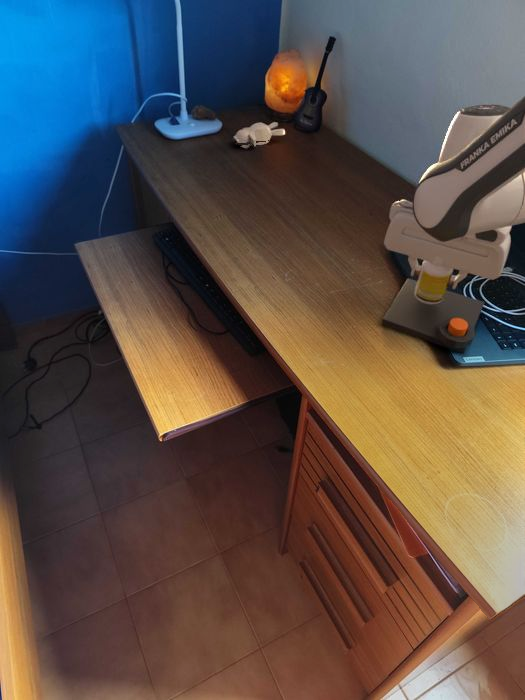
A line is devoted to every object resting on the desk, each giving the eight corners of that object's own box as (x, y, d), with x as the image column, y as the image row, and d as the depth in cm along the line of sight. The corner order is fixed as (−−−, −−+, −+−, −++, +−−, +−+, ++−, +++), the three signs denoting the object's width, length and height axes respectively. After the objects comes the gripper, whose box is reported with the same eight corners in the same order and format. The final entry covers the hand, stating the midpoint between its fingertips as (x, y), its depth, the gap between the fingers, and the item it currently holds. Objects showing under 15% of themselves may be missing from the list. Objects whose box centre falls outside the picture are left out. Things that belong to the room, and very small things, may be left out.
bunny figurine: (229, 127, 142) (274, 114, 144) (232, 144, 146) (275, 130, 148) (239, 139, 136) (286, 124, 138) (242, 156, 140) (287, 141, 142)
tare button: (467, 328, 81) (470, 321, 80) (462, 339, 80) (465, 332, 78) (450, 323, 83) (452, 315, 81) (445, 333, 81) (447, 325, 80)
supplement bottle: (446, 305, 86) (462, 261, 79) (417, 305, 86) (429, 261, 79) (439, 287, 89) (453, 243, 82) (411, 287, 90) (422, 243, 83)
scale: (484, 308, 89) (490, 296, 87) (464, 358, 80) (469, 346, 78) (406, 283, 95) (409, 271, 92) (379, 327, 86) (382, 315, 84)
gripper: (386, 205, 77) (373, 273, 87) (516, 238, 70) (486, 308, 79) (399, 189, 81) (385, 256, 91) (524, 219, 73) (494, 288, 83)
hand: (433, 280), depth 85 cm, fingers closed on supplement bottle, 5 cm apart
